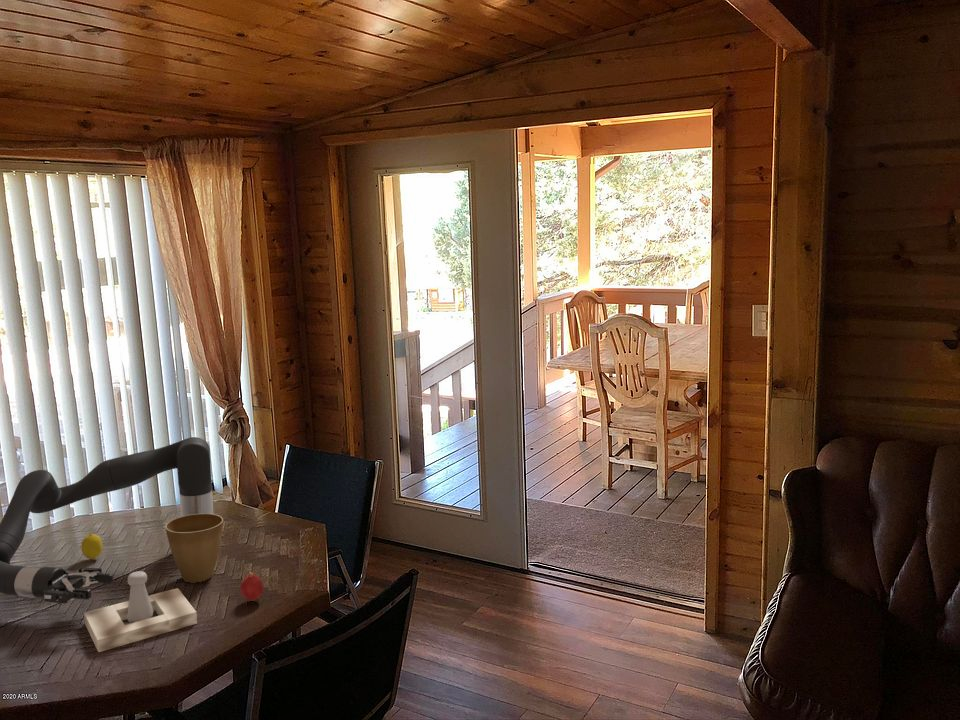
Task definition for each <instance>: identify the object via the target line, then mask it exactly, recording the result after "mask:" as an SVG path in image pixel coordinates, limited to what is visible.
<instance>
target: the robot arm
mask: <svg viewBox="0 0 960 720" xmlns="http://www.w3.org/2000/svg"><path fill="white" fill-rule="evenodd" d="M211 467H212V466H211V448H210V445H209V444H208V442H207V441H206V440H205V439H203V438H201V437H197V436H196V437H194V436H192V437H188V438H184V439H182V440H179V441H177V442H174V443H171V444H168V445H166V446H163V447H158V448H155V449H154V448H153V449H151V450H150V449H149V450H145V451H141V452H140V451H139V452H136V453H131V454H127V455H122V456H119V457H114V458H111V459H106V460H104V461H102V462H100V463H98V464H97V465H96V466H94V468H92V470H90V471H89V472H88V473H87V474H86V475H85V476H83V478H80V480H78V481H77V482H75V483H74V482H73V483H71V484H69V485H65V486H62V487H59V485H58V484H57V482H56V480H55V478H54V476H53V474H52V473H51V472H49V471H48V470H45V469H38V470H37V469H36V470H33V471H30V472H29V473H27V474H26V475H23V477H22V478H21V479H20V481H19V482H18V484H17V486H16V487H15V490H14V493H13V494H12V497H11V499H10V502H9V504H8V507H7V509H6V510H5V513H4V515H3V517H2V519H1V521H0V594H2V595H6V596H7V595H8V596H18V597H25V598H31V599H42V600H43V599H44V602H45V603H46V602H48V603H55V604H56V603H57V604H67V603H68V602H69V600H70V601H74V600H75V599H76V600H90V599H91V598H92V591H91V590H90V589H87V588H86V589H85V587H89V586H90V585H91V584H92V585H93V584H97V583H99V584H112V583H113V582H114V576H113V574H112V573H103V570H102V568H101V567H79V568H77V569H78V572H71V573H68V572H67V571H66V570H65V569H64V568H62V567H54V566H43V565H42V566H39V565H31V566H30V565H29V566H27V565H26V566H25V565H13V564H11V560H12V558H13V557H14V555H15V554H16V552H17V551H18V549H19V548H20V546H21V544H22V543H23V540H24V537H25V535H26V531H27V526H28V521H29V517H30V513H33V514H43V513H48V512H52V511H55V510H57V509H60V508H63V507H65V506H69V505H71V504H74V503H77V502H79V501H82V500H85V499H89V498H93V497H96V496H99V495H102V494H106V493H111V492H115V491H119V490H123V489H126V488H130V487H133V486H136V485H139V484H141V483H143V482H145V481H147V480H149V479H151V478H153V477H155V476H157V475H160V474H161V473H164V472H167V471H170V470H176V469H177V481H178V482H177V484H178V489H179V504H180V506H179V507H180V508H179V509H180V517H182V516H186V515H192V514H215V513H214V502H213V501H214V500H213V483H212V470H211ZM84 580H85V582H84Z"/></svg>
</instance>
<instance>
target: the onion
mask: <svg viewBox="0 0 960 720" xmlns="http://www.w3.org/2000/svg"><path fill="white" fill-rule="evenodd" d="M239 589H240V590H239V591H240V594H241V596H242V597H243V598H244V599H245V600H247V601H249V602H250V601H254V602H255V601H257V600H258V599H260V597H261V596H262V594H263V592H264V591H265V589H264V583H263V581H262V578H261V577H259V576H258V575H257V574H254V573H253V572H249V574H248V575H247V576H246V577H245V578H244V579H243V580H242V581H241V584H240V588H239Z"/></svg>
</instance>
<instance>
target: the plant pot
mask: <svg viewBox="0 0 960 720" xmlns="http://www.w3.org/2000/svg"><path fill="white" fill-rule="evenodd" d="M223 527H224V518H223V517H222V516H221V515H219V514H215V513H214V514H192V515H186V516H182V517H181V516H179V517H176V518H173V519H171V520H170V521H168V522H167V523H166V524H165V527H164V528H165V532H166V536H167V541H168V544H169V548H170V550H171V551H170V552H171V554H172V557H173V559H174V563H175V565H176V567H177V569H178V572H179V573H180V576H181V578H182V579H183V581H184V582H185V583H188V582H190V583H189V584H197V583H196V582H199V583H203V582H206V581H208V580H210V579H211V578H212V577H211V576H213V574H214V571H215V568H216V564H217V561H218V556H219V553H220V549H221V542H222V541H221V540H222V535H223ZM210 577H211V578H210ZM209 578H210V579H209ZM207 579H208V580H207ZM205 580H206V581H205ZM202 581H203V582H202Z"/></svg>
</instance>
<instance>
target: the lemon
mask: <svg viewBox="0 0 960 720" xmlns="http://www.w3.org/2000/svg"><path fill="white" fill-rule="evenodd" d="M103 547H104V546H103V541H102V539H101V537H100V536H99V535H97V534H93V533H89V534H88V535H86V536H85V537H84V538H83V539H82V541H81V546H80V549H81V553H82V555H83V557H85V558H86V559H89V560H92V561H94V560H95V559H96V558H97V557H99V556H100V555H101V554H102V551H103Z"/></svg>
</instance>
